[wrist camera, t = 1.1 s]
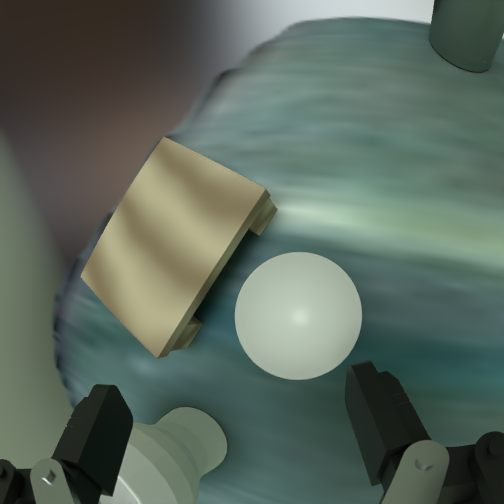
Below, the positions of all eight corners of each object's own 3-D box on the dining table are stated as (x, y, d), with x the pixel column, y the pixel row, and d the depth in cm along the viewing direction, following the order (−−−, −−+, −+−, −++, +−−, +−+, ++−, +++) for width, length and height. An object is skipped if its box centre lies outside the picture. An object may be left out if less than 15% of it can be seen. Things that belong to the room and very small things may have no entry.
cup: (230, 492, 25) (158, 575, 11) (147, 456, 28) (54, 505, 14) (251, 413, 26) (168, 490, 12) (157, 379, 29) (44, 409, 15)
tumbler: (288, 275, 27) (241, 249, 15) (355, 279, 26) (366, 255, 13) (281, 342, 26) (229, 370, 14) (349, 348, 25) (353, 385, 12)
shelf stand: (191, 162, 33) (163, 136, 27) (281, 212, 29) (265, 188, 23) (117, 282, 33) (80, 276, 27) (191, 350, 29) (157, 358, 23)
